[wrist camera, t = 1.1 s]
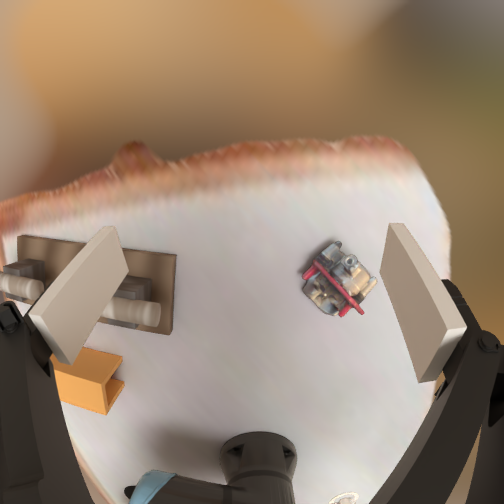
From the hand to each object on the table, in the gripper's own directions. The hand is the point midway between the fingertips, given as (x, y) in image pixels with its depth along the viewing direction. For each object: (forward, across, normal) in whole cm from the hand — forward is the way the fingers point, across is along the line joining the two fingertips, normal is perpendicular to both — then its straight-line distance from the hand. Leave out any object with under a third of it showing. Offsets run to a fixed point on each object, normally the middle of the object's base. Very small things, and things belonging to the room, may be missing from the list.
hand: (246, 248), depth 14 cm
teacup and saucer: (+2, -16, +76) cm, 78 cm away
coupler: (+14, +32, +33) cm, 48 cm away
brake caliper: (+25, -9, +20) cm, 33 cm away
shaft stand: (+20, +29, +18) cm, 40 cm away
